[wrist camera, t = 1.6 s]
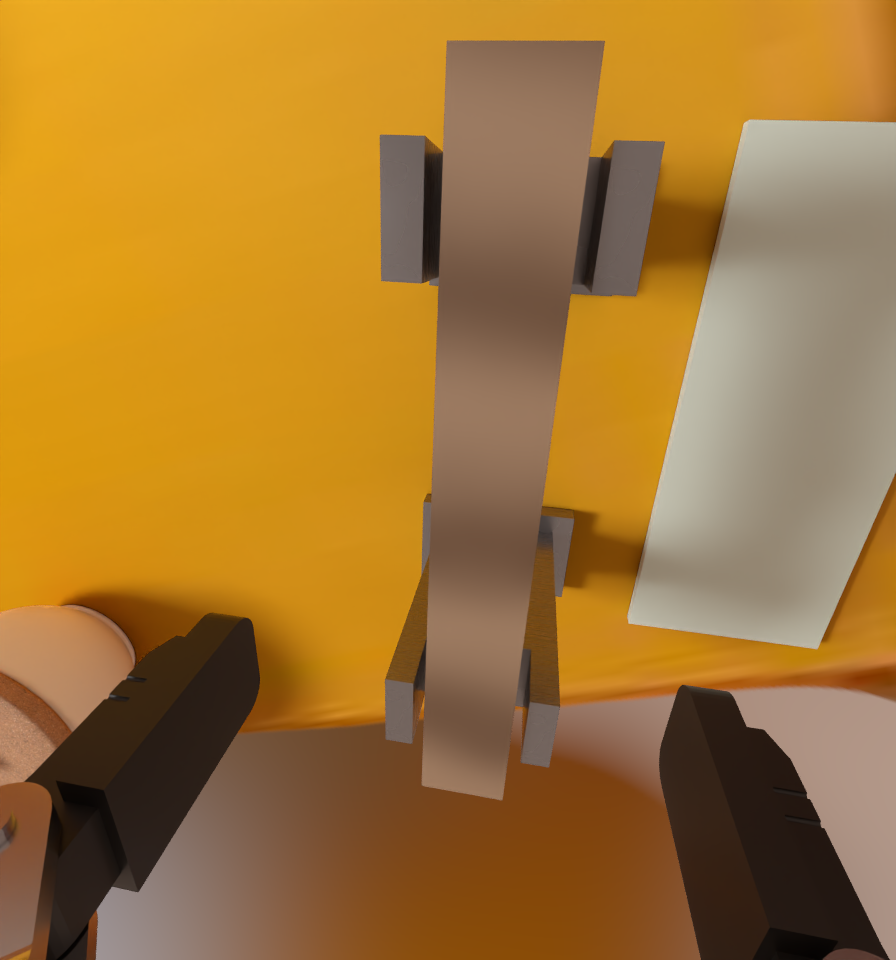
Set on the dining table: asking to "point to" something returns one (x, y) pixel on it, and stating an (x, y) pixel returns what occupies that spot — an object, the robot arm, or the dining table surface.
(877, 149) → the white flat slab
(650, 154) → the forked posts
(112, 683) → the lidded bowl
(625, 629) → the dining table surface
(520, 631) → the walnut bar
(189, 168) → the dining table surface
